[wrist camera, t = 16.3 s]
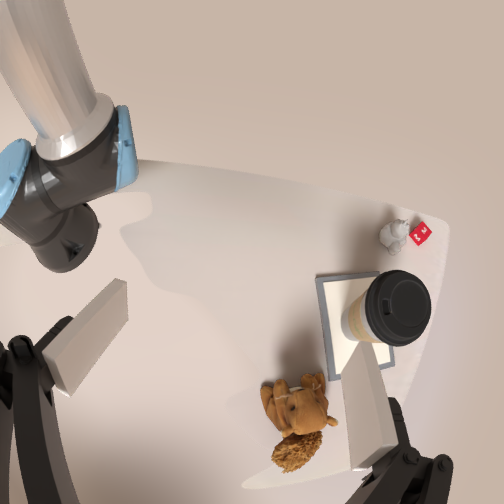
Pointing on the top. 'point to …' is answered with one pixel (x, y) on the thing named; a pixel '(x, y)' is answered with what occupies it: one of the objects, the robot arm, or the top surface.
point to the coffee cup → (389, 310)
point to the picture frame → (331, 309)
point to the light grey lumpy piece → (394, 235)
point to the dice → (420, 233)
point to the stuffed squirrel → (297, 419)
